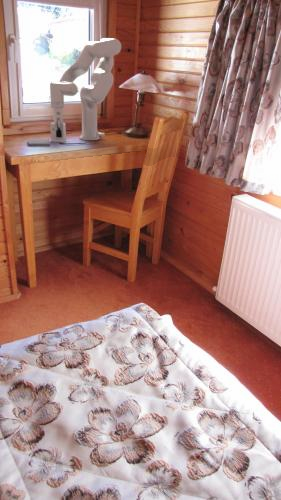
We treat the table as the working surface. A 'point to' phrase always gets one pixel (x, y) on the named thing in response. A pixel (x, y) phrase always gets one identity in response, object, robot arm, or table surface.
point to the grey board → (38, 142)
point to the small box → (53, 133)
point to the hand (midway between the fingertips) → (58, 135)
